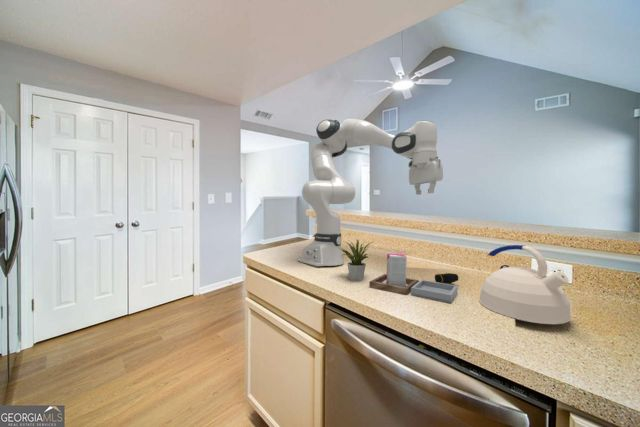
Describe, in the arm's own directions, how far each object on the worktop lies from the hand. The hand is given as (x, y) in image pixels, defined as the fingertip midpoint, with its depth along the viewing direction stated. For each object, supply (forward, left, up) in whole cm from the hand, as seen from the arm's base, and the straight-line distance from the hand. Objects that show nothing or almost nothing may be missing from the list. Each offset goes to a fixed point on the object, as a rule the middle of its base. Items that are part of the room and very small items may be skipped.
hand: (424, 193), depth 106 cm
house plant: (-19, -21, -34) cm, 45 cm away
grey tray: (+9, -22, -34) cm, 42 cm away
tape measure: (+13, -7, -34) cm, 37 cm away
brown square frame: (-4, -22, -34) cm, 41 cm away
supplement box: (-4, -22, -34) cm, 41 cm away
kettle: (+32, -19, -34) cm, 51 cm away
